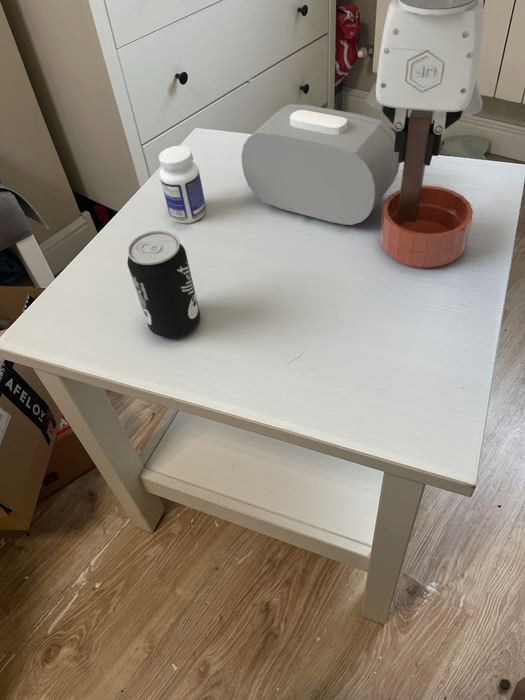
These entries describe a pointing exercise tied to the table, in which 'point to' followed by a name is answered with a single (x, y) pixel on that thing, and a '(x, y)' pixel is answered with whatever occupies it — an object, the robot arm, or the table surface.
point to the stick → (414, 164)
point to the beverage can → (163, 283)
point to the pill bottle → (181, 184)
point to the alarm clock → (321, 162)
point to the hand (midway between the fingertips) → (415, 157)
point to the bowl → (427, 228)
